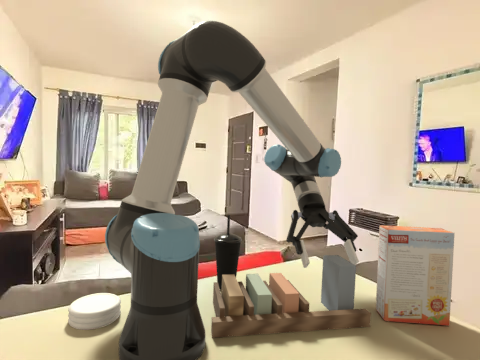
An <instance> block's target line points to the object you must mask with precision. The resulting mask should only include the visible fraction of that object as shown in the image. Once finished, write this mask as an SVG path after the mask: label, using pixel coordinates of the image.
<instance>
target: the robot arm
mask: <svg viewBox="0 0 480 360" xmlns="http://www.w3.org/2000/svg"><path fill="white" fill-rule="evenodd" d="M266 65H267V61H266V59H265V57H264V56H263V55H262V54H261V52H260V51H259V50H258V48H257V47H256V46H255V45H254V44H253V43H252V42H251V41H250V40H249V39H248V38H247V37H246V36H245V35H243V34H242V33H241V32H240V31H238V30H237V29H235V28H233V27H232V26H231V25H228V24H226V23H224V22H220V21H217V20H205V21H201V22H199V23H196V24H195V25H193V26H192V27H191V28H190V29H189V30H188V31H186V32H185V33H183V34H182V35H181V36H179V37H177V38H176V39H174V40H171V42H169V43H168V44H167V45H166V46H165V47H164V49H163V50H162V51H161V53H160V56H159V57H158V63H157V69H158V74H159V78H158V82H157V86H158V88H159V90H160V92H161V97H160V100H159V103H158V106H157V110H156V113H155V115H154V119H153V122H152V125H151V129H150V132H149V136H148V139H147V142H146V145H145V149H144V152H143V155H142V158H141V160H140V161H141V162H140V165H139V168H138V172H137V175H136V178H135V181H134V185H133V187H132V191H131V194H130V195H127V196H125V197H124V198H122V199H121V202H120V205H119V209H118V211H117V214H116V215H114V217H112V219H110V221H109V222H108V224H107V226H106V229H105V232H104V242H105V245H106V248H107V250H108V253H109V254H110V256H111V257H112V259H114V260H115V261H116V262H117V263H118V264H120V265H121V266H122V267H123V268H125V270H127V271H128V273H130V276H131V278H130V280H131V281H130V308H129V310H128V314H127V316H126V320H125V322H124V325H123V328H122V329H121V333H120V337H119V341H118V357H119V360H199V358H200V357H201V355H202V354H203V353H204V351H205V349H206V348H205V347H206V329H205V324H204V322H203V319H202V315H201V312H200V308H199V304H198V283H199V280H198V279H199V260H200V257H199V256H200V255H199V254H200V248H201V241H200V231H199V230H200V229H199V226H198V224H197V222H196V221H194V220H193V219H192V218H189V217H188V216H184V215H181V214H176V212H175V209H174V208H173V206H172V200H173V196H174V193H175V189H176V186H177V183H178V179H179V175H180V172H181V168H182V164H183V161H184V158H185V154H186V151H187V149H188V148H187V146H188V143H189V140H190V137H191V133H192V130H193V127H194V122H195V120H196V117H197V112H198V108H199V106H200V105H203V104H205V103H206V102H207V100H208V96H209V93H210V90H211V87H212V83H214V82H221V83H223V84H224V86H226V87H227V88H228V89H229V90H230V91H231V92H232V93H239V95H240V96H241V98H242V99H244V100H245V102H246V103H247V105H249V106H250V107H251V109H252V110H253V111H254V112H255V114H256V115H257V116H258V117H259V118H260V119H261V120H262V121H263V123H264V124H265V125H266V127H268V128H269V129H270V131H271V132H272V133H273V134H274V135H275V136H276V137H277V139H278V140H279V142H280V143H281V144H282V145H281V144H278V143H277V144H276V143H275V144H274V145H271V146H270V147H269V148H268V149H267V151H266V152H265V154H264V158H263V161H264V163H265V166H267V167H268V168H269V169H271V171H273V172H274V173H276V174H278V175H279V176H281V177H282V178H283V179H284V180H287V182H289V183H290V184H291V186H292V188H293V191H294V195H295V199H296V201H297V205H298V210H299V211H298V210H297V209H294V210H292V211H293V212H292V214H291V216H290V217H291V223H290V226H289V230H288V232H287V236H286V240H285V241H286V242H287V243H291V245H292V246H293V247H294V248H295V253H296V254H297V255H298V256H300V259H301V262H302V268H304V269H305V268H306V269H307V268H308V267H309V265H310V262H311V261H310V258H309V255H308V252H307V247H306V245H305V242H304V241H305V240H304V239H301V238H302V237H303V235H304V234H305V231H306V230H307V229H308V227H309V226H310V227H311V228H316V227H317V228H324V229H326V230H328V231H330V232H331V233H332V234H334V235H335V236H336V237H337V238H338V239H340V240H341V241H343V242H344V243H343V246H344V250H345V252H346V255H347V258H348V260H349V262H351V263H352V264H354V265H356V266H357V264H358V263H359V262H360V261H359V258H358V255H357V253H356V252H357V247H356V245H355V243H354V242H355V240H357V238H358V236H359V235H358V234H357V232H355V231H354V229H352V228H351V227H350V226H349V225H348V223H347V222H345V220H344V219H343V218H342V217H341V216H340V214H339V212H338V210H336V209H335V210H333V211H331V212H329V211H328V210H327V209H326V204H325V200H324V199H323V196H322V193H321V190H320V188H319V186H318V183H317V182H316V177H318V178H330V177H331V178H333V177H335V176H336V175H337V174H338V173H339V172H340V169H341V166H342V158H341V154H340V152H339V151H338V150H337V149H335V148H330V147H326V148H325V147H324V146H323V144H322V143H321V142H320V141H319V139H318V138H317V137H316V135H315V134H314V132H313V131H312V130H311V128H310V127H309V125H308V124H307V123H306V121H304V119H303V118H302V116H301V115H300V113H299V112H298V111H297V109H296V108H295V107H294V106H293V104H292V103H291V101H290V100H289V99H288V98H287V95H285V94H284V92H283V90H282V89H281V88H280V87H279V85H278V84H277V82H276V81H275V80H274V78H273V77H272V75H271V74H270V73H269V72H268V71H267V69H266ZM300 218H301V220H303V221H304V223H303V225H302V226H301V228H300V229H299V232H298V233H297V235H296V236H295V231H296V229H297V226H298V225H297V224H298V220H299V219H300Z"/></svg>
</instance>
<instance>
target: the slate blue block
mask: <svg viewBox="0 0 480 360" xmlns="http://www.w3.org/2000/svg"><path fill="white" fill-rule="evenodd" d="M321 273H322V274H321V289H320V290H321V291H320V293H321V295H320V303H321V304H322V305H323V306H324V307H325V308H326V309H327V311H330V310H347V309H355V293H356V292H355V290H356V278H357V277H356V275H357V274H356V273H357V264H356V265H354V264H352V263H351V262H350V260H349V261H348V259H345V258H344V257H342V256H340V255H338V254H329V255H327V254H324V255H323V256H322V272H321Z"/></svg>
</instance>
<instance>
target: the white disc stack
mask: <svg viewBox="0 0 480 360" xmlns="http://www.w3.org/2000/svg"><path fill="white" fill-rule="evenodd" d="M121 303H122V300H121V297H120V296H118V295H117V294H114V293H109V292H98V293H92V294H88V295H85V296H84V295H83V296H81V297H79V298H77V299H75V300H74V301H72V303H70V304H69V307H68V314H67V317H68V320H67V321H68V325H69V326H70V327H72V328H74V329H75V330H82V331H83V330H85V331H87V330H88V331H89V330H96V329H100V328H103V327H106V326H108V325H111V324H112V323H114V322H115V321H116V320H118V318H119V317H120V316H121V311H122V310H121V307H122V305H121Z"/></svg>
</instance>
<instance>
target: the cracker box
mask: <svg viewBox="0 0 480 360" xmlns="http://www.w3.org/2000/svg"><path fill="white" fill-rule="evenodd" d="M454 247H455V232H452V231H450V230H447V229H444V228H441V227H424V226H423V227H421V226H407V225H406V226H405V225H383V224H381V225H379V229H378V248H377V249H378V250H377V251H378V254H377V269H376V270H377V273H376V296H375V310H376V312H377V313H378V315H380V317H381V318H382V319H383V320H384V321H385V322H396V323H407V324H422V325H436V326H445V327H446V326H447V327H449V326H450V322H451V321H450V320H451V319H450V318H451V305H452V304H451V302H452V287H453V286H452V285H453V270H454V269H453V267H454Z"/></svg>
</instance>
